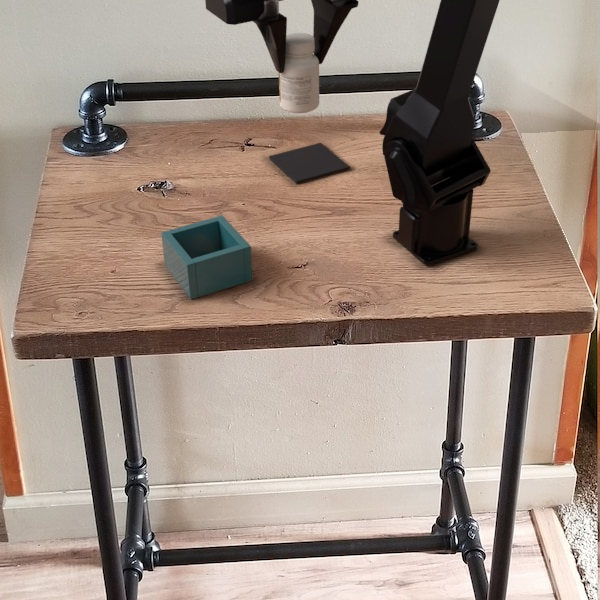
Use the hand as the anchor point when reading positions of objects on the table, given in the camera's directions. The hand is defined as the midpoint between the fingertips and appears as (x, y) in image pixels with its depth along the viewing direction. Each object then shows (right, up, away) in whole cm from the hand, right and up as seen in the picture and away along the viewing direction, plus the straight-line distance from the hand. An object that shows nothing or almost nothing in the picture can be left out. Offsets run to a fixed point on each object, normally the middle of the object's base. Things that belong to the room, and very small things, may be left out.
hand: (299, 67), depth 106 cm
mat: (+1, -9, +9) cm, 13 cm away
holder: (-9, -22, -9) cm, 26 cm away
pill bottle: (0, -4, +3) cm, 5 cm away
